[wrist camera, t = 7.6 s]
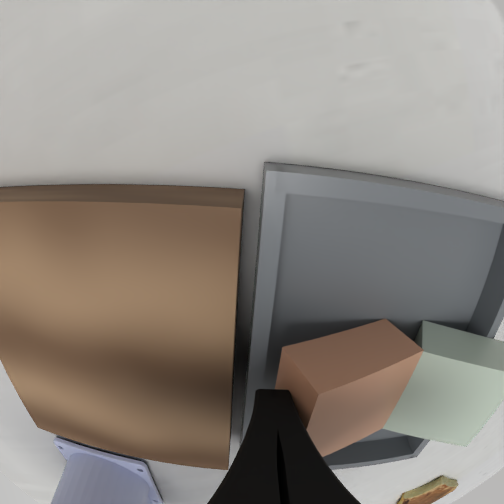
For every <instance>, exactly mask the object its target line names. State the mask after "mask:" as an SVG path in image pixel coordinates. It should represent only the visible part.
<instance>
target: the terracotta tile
mask: <svg viewBox="0 0 504 504" xmlns="http://www.w3.org/2000/svg"><path fill="white" fill-rule="evenodd" d="M423 351H424V350H423V349H422V348H421V347H420V346H418V345H417V344H416V343H415V342H414V341H412V340H411V339H410V338H409V337H407V336H406V335H405V334H404V333H403V332H401V331H400V330H399V329H398V328H397V327H395V326H394V325H393V324H392V323H390V322H389V321H388V320H387V319H386V318H385V319H382V320H379V321H376V322H373V323H369V324H366V325H363V326H359V327H356V328H353V329H349V330H346V331H342V332H339V333H335V334H331V335H328V336H324V337H320V338H316V339H313V340H309V341H305V342H301V343H297V344H293V345H289V346H284V347H282V352H281V358H280V363H279V369H278V374H277V380H276V385H275V389H282V390H289V391H290V393H291V396H292V399H293V401H294V404H295V407H296V409H297V411H298V414H299V416H300V418H301V420H302V422H303V424H304V426H305V428H306V430H307V432H308V434H309V436H310V438H311V439H312V441H313V443H314V445H315V446H316V448H317V450H318V451H319V453H320V454H321V456H322V457H324V456H326V455H329V454H331V453H333V452H335V451H338V450H340V449H342V448H344V447H346V446H348V445H351V444H353V443H355V442H357V441H359V440H361V439H363V438H365V437H367V436H369V435H371V434H372V433H374V432H376V431H378V430H380V429H382V428H383V427H384V425H385V423H386V422H387V420H388V418H389V417H390V415H391V413H392V411H393V410H394V408H395V406H396V404H397V402H398V401H399V399H400V397H401V395H402V393H403V391H404V390H405V388H406V386H407V384H408V382H409V380H410V378H411V376H412V374H413V372H414V370H415V368H416V366H417V364H418V362H419V359H420V357H421V355H422V353H423Z"/></svg>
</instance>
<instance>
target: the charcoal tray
mask: <svg viewBox="0 0 504 504" xmlns="http://www.w3.org/2000/svg"><path fill="white" fill-rule="evenodd" d="M503 317H504V201H500V200H496V199H492V198H488V197H484V196H480V195H476V194H472V193H467V192H463V191H459V190H454V189H449V188H445V187H440V186H435V185H430V184H425V183H420V182H414V181H409V180H403V179H397V178H391V177H385V176H379V175H373V174H366V173H359V172H352V171H345V170H337V169H329V168H321V167H312V166H302V165H292V164H282V163H270V162H264V173H263V185H262V197H261V209H260V221H259V233H258V245H257V257H256V269H255V281H254V293H253V304H252V316H251V327H250V339H249V350H248V362H247V373H246V384H245V396H244V407H243V418H242V429H241V440H240V446H241V444H242V442H243V439H244V437H245V434H246V431H247V428H248V426H249V423H250V420H251V416H252V412H253V406H254V398H255V391H256V390H257V389H275V385H276V380H277V374H278V369H279V363H280V358H281V352H282V347H284V346H289V345H293V344H297V343H301V342H305V341H309V340H313V339H316V338H320V337H324V336H328V335H331V334H335V333H339V332H342V331H346V330H349V329H353V328H356V327H359V326H363V325H366V324H369V323H373V322H376V321H379V320H382V319H385V318H386V319H387V320H388V321H389V322H390V323H392V324H393V325H394V326H395V327H397V328H398V329H399V330H400V331H401V332H403V333H404V334H405V335H406V336H407V337H409V338H410V339H411V340H412V341H414V340H415V338H416V336H417V333H418V331H419V328H420V326H421V323H422V321H423V320H424V321H428V322H431V323H435V324H439V325H442V326H446V327H450V328H454V329H457V330H461V331H465V332H469V333H472V334H476V335H480V336H484V337H488V338H492V339H494V337H495V335H496V332H497V330H498V328H499V326H500V324H501V322H502V320H503ZM429 441H430V440H428V439H423V438H419V437H414V436H410V435H406V434H402V433H398V432H394V431H390V430H386V429H380V430H378V431H376V432H374V433H372V434H371V435H369V436H367V437H365V438H363V439H361V440H359V441H357V442H355V443H353V444H351V445H348V446H346V447H344V448H342V449H340V450H338V451H335V452H333V453H331V454H329V455H326V456H324V457H322V458H323V459H324V461H325V462H326V464H327V465H328V466H329V468H330V469H331V470H334V469H345V468H354V467H362V466H369V465H376V464H382V463H388V462H394V461H399V460H404V459H409V458H414V457H417V456H418V455H419V453H420V452H421V451H422V450H423V448H424V447H425V446H426V445H427V443H428V442H429Z"/></svg>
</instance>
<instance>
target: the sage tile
mask: <svg viewBox="0 0 504 504" xmlns="http://www.w3.org/2000/svg"><path fill="white" fill-rule="evenodd" d="M414 342H415V343H416V344H417V345H418V346H420V347H421V348H422V349H423V350H424V351H423V353H422V355H421V357H420V359H419V362H418V364H417V366H416V368H415V370H414V372H413V374H412V376H411V378H410V380H409V382H408V384H407V386H406V388H405V390H404V391H403V393H402V395H401V397H400V399H399V401H398V402H397V404H396V406H395V408H394V410H393V411H392V413H391V415H390V417H389V418H388V420H387V422H386V423H385V425H384V427H383V428H382V429H386V430H390V431H394V432H398V433H402V434H406V435H410V436H414V437H419V438H423V439H428V440H433V441H438V442H443V443H448V444H453V445H459V446H465V447H467V445H468V444H469V443H470V442H471V441H472V440H473V438H474V437H475V436H476V435H477V434H478V432H479V431H480V430H481V429H482V428H483V426H484V425H485V424H486V423H487V421H488V420H489V419H490V417H491V416H492V415H493V413H494V412H495V411H496V409H497V408H498V407H499V405H500V404H501V402H502V401H503V400H504V342H503V341H499V340H495V339H492V338H488V337H484V336H480V335H476V334H472V333H469V332H465V331H461V330H457V329H454V328H450V327H446V326H442V325H439V324H435V323H431V322H428V321H424V320H423V321H422V323H421V326H420V328H419V331H418V333H417V336H416V338H415V340H414Z"/></svg>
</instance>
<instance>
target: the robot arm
mask: <svg viewBox="0 0 504 504" xmlns="http://www.w3.org/2000/svg"><path fill="white" fill-rule="evenodd" d="M54 443H55V445H56V446H57V448H58V449H59V451H60V452H61V454H62V455H63V456H64V458H65V459H66V460H67V464H66V467H65V469H64V471H63V474H62V476H61V479H60V481H59V484H58V487H57V489H56V492H55V494H54V497H53V500H52V502H51V504H163V501H162V499H161V497H160V495H159V493H158V490H157V488H156V486H155V484H154V481H153V479H152V477H151V474H150V472H149V470H148V467H147V465H146V464H145V463H144V462H142V461H138V460H134V459H129V458H125V457H121V456H117V455H113V454H109V453H105V452H101V451H98V450H94V449H91V448H88V447H84V446H81V445H78V444H75V443H72V442H69V441H66V440H63V439H60V438H55V439H54ZM207 504H361V503H360V502H359V501H358V500H357V499H356V498H355V497H354V496H353V495H352V494H351V493H350V492H349V491H348V490H347V489H346V488H345V487H344V485H343V484H342V483H341V482H340V481H339V479H338V478H337V477H336V476H335V474H334V473H333V472H332V470H331V469H330V468H329V466H328V465H327V464H326V462H325V461H324V459H323V458H322V456H321V454H320V453H319V451H318V450H317V448H316V446H315V445H314V443H313V441H312V439H311V438H310V436H309V434H308V432H307V430H306V428H305V426H304V424H303V422H302V420H301V418H300V416H299V414H298V411H297V409H296V407H295V404H294V401H293V399H292V396H291V393H290V391H289V390H282V389H257V390H256V391H255V398H254V406H253V412H252V416H251V420H250V423H249V426H248V428H247V431H246V434H245V437H244V439H243V442H242V444H241V446H240V448H239V451H238V453H237V455H236V457H235V459H234V461H233V463H232V465H231V467H230V469H229V471H228V472H227V474H226V476H225V478H224V479H223V481H222V483H221V484H220V486H219V487H218V489H217V490H216V492H215V494H214V495H213V496H212V498H211V499H210V501H209V502H208V503H207Z"/></svg>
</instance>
